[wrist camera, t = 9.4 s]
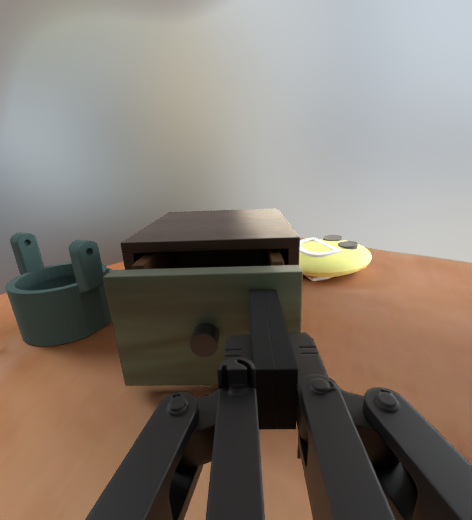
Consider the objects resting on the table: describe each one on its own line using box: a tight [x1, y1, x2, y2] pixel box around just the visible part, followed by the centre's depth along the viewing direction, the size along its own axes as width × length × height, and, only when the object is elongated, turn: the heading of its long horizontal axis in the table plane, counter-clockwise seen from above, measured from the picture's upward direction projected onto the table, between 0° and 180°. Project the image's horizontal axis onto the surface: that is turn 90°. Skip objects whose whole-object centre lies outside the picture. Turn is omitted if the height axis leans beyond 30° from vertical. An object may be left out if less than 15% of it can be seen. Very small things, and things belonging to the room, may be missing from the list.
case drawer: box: [103, 249, 303, 386], centre depth 22 cm, size 14×11×8 cm
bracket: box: [6, 233, 112, 346], centre depth 27 cm, size 9×9×9 cm
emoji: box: [299, 235, 372, 281], centre depth 39 cm, size 4×12×12 cm
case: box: [121, 208, 300, 270], centre depth 27 cm, size 14×13×10 cm
